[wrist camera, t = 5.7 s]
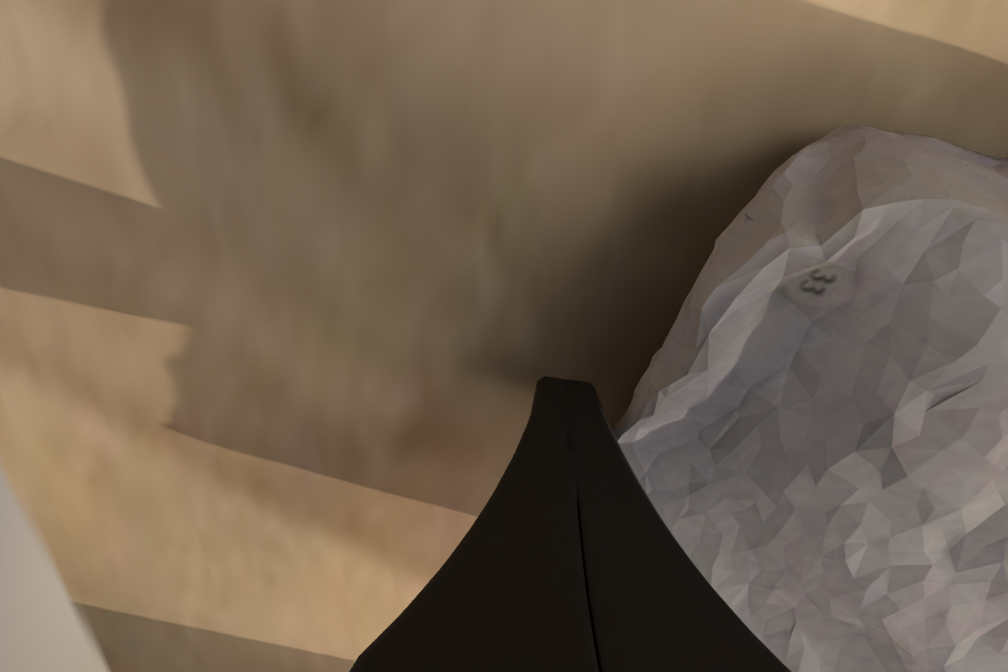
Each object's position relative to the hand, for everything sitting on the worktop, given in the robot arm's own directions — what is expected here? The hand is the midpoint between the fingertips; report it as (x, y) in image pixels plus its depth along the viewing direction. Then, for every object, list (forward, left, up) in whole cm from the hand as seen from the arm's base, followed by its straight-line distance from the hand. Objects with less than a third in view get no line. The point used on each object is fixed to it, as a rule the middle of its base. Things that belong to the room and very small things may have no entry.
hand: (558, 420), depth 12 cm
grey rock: (0, -6, -2) cm, 6 cm away
